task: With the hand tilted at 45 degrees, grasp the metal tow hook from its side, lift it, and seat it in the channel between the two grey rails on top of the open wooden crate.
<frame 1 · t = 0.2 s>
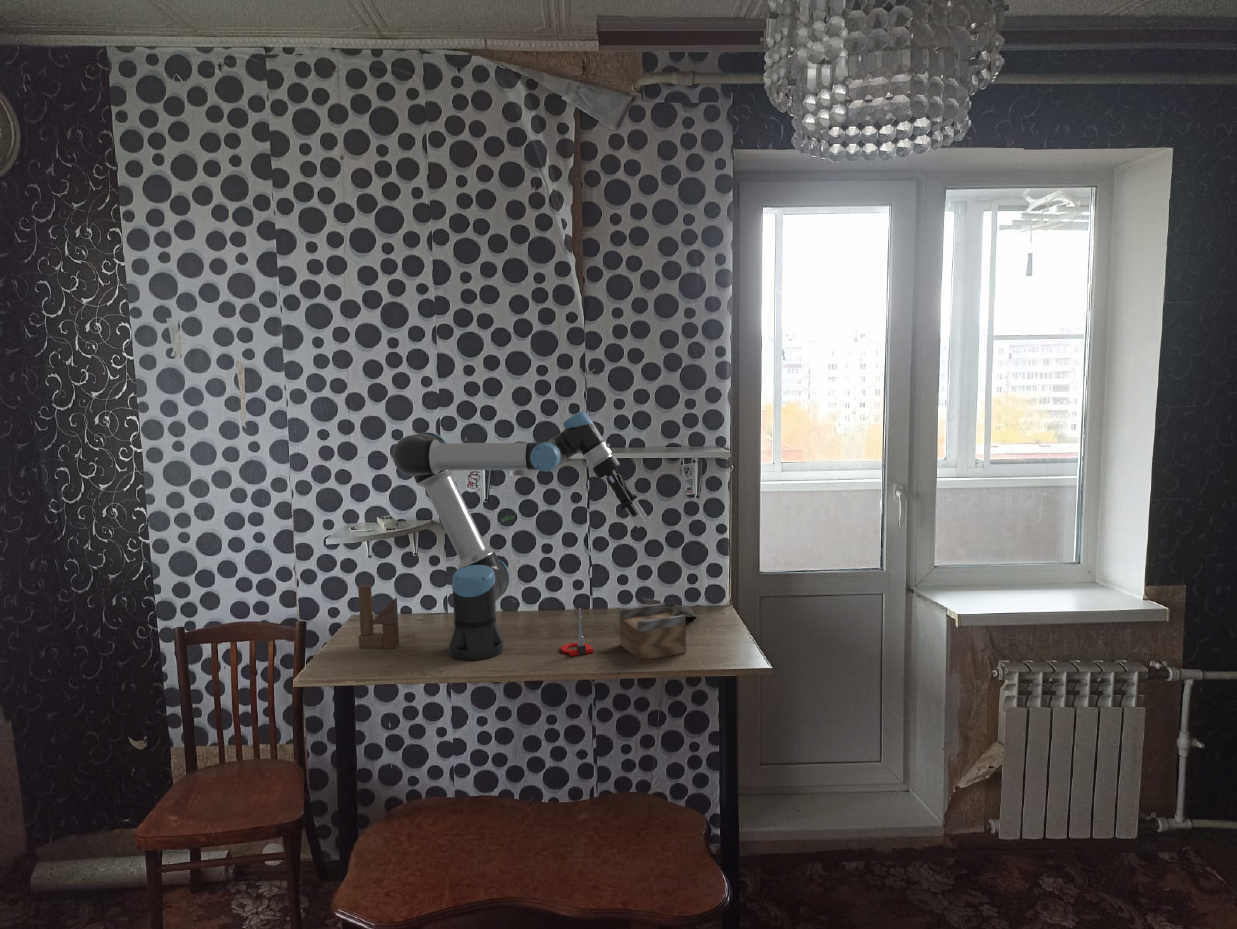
hand: (643, 522, 226), 35 cm above the table, tool tilted 35°, fingers open, 13 cm apart
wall: (669, 622, 247), on the table
tow hook: (576, 651, 222), on the table
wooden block: (379, 647, 228), on the table
open wooden crate: (652, 648, 222), on the table
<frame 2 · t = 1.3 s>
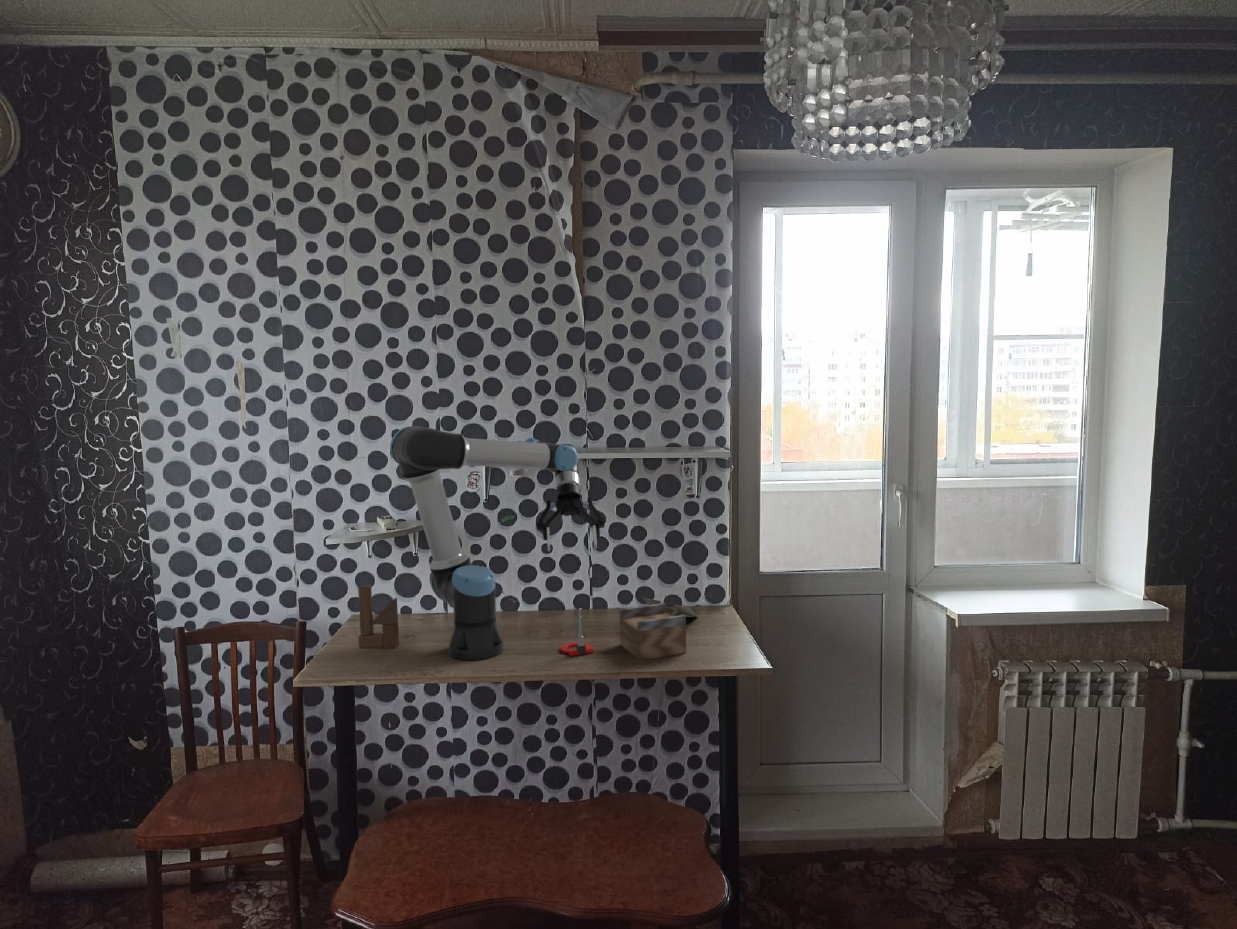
hand: (572, 547, 229), 27 cm above the table, tool tilted 45°, fingers open, 13 cm apart
nothing on the table moved.
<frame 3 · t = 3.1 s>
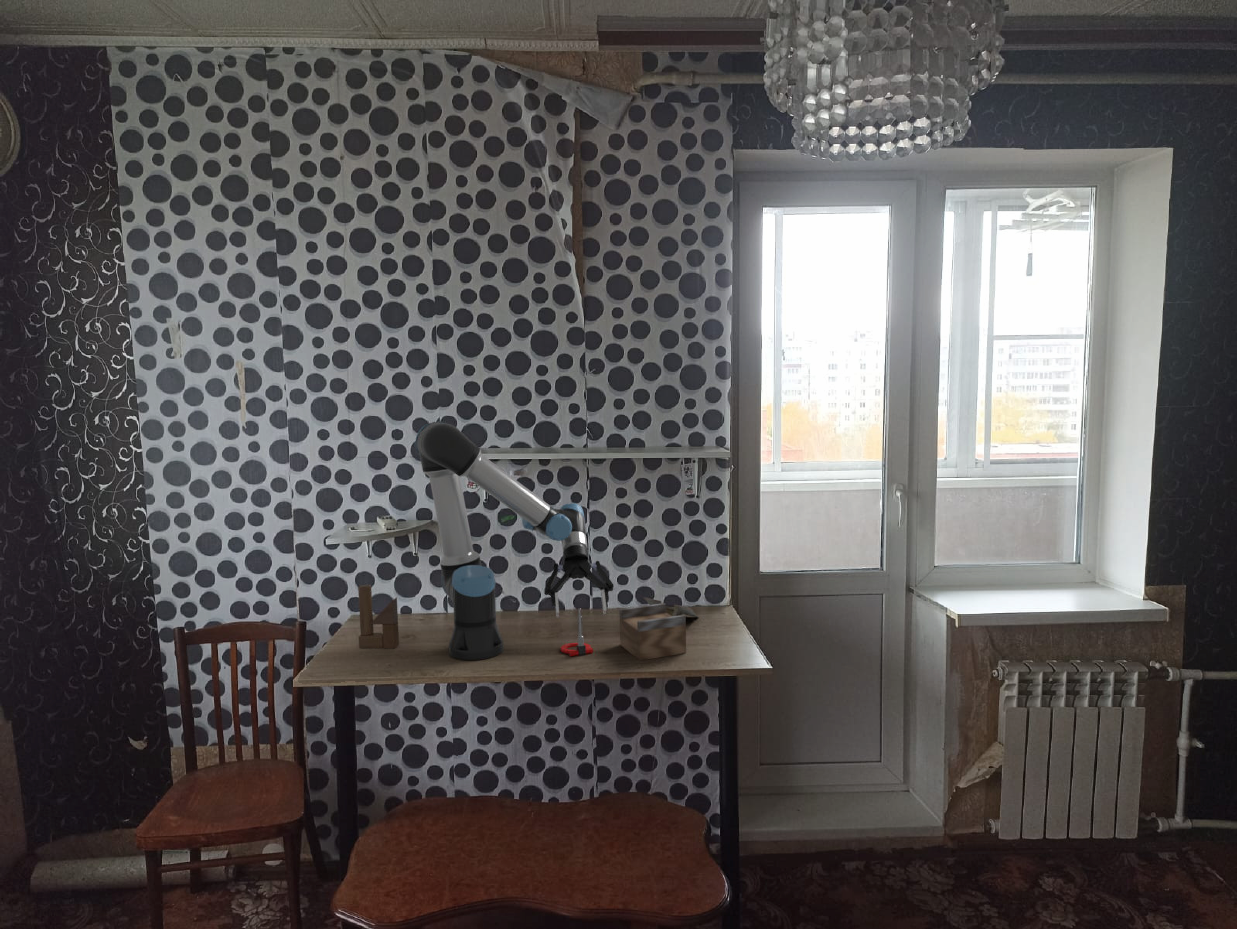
hand: (581, 613, 226), 9 cm above the table, tool tilted 45°, fingers open, 13 cm apart
nothing on the table moved.
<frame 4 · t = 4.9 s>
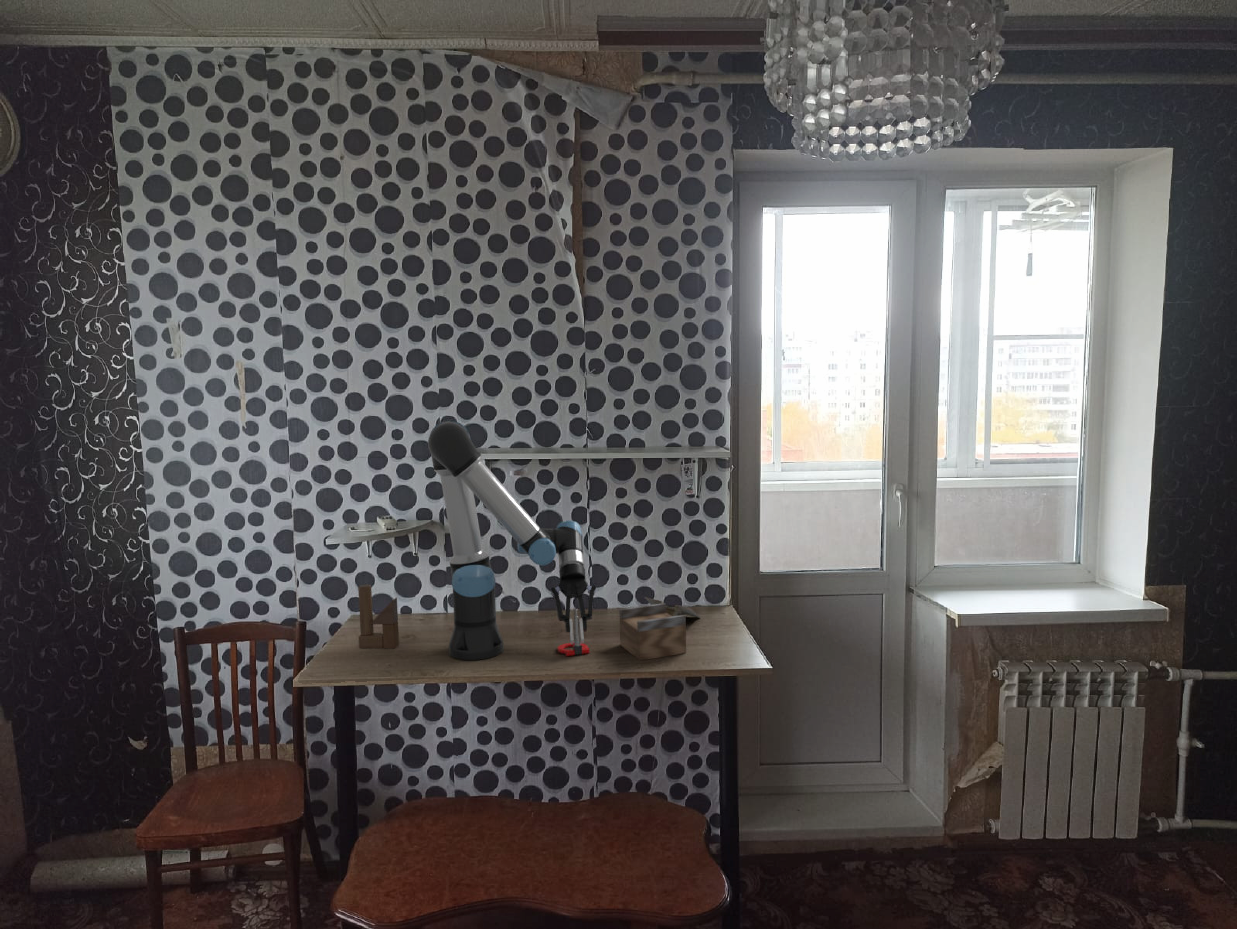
hand: (577, 641, 217), 4 cm above the table, tool tilted 45°, fingers closed on tow hook, 2 cm apart
tow hook: (573, 651, 222), on the table, touching gripper
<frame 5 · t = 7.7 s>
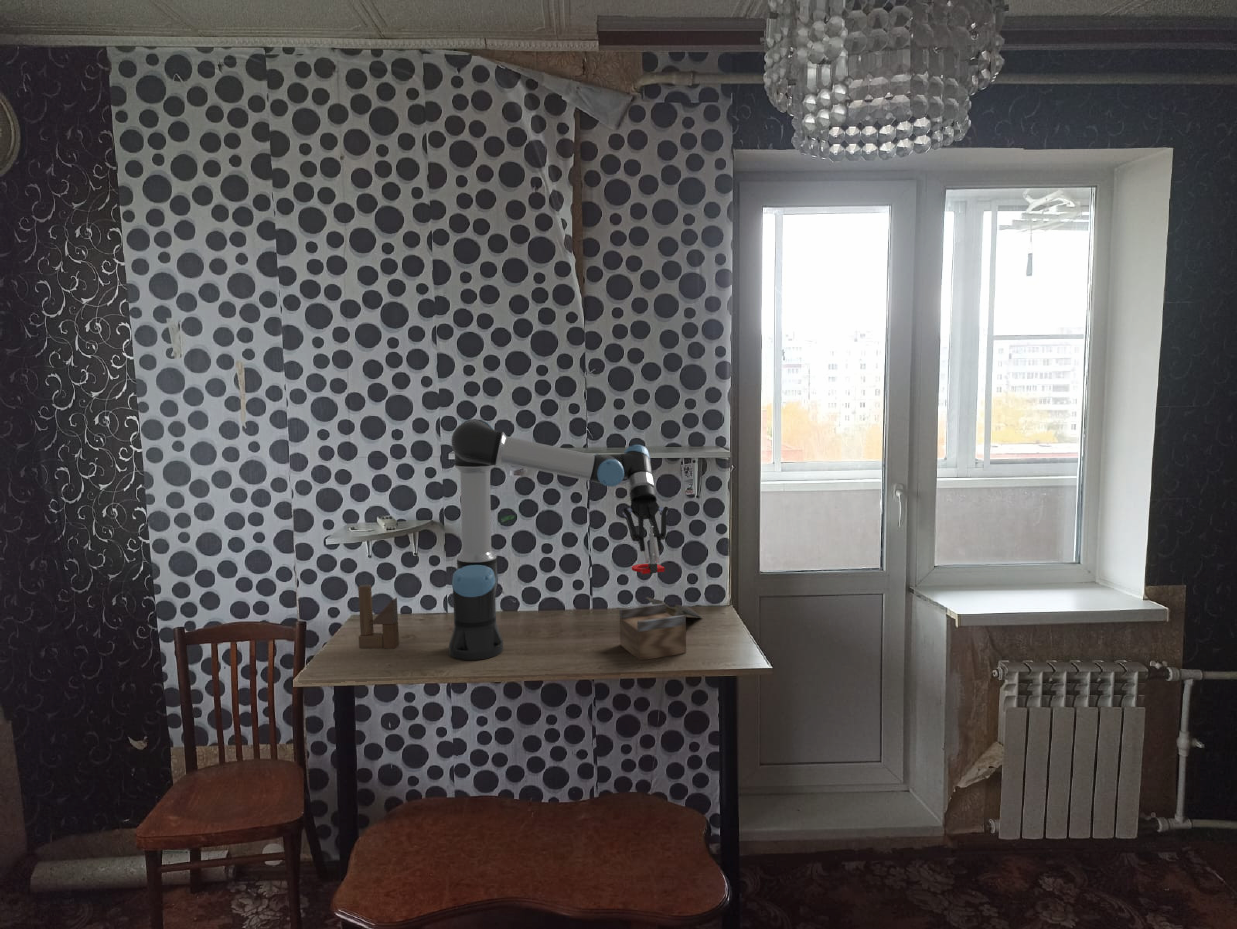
hand: (652, 559, 215), 26 cm above the table, tool tilted 45°, fingers closed on tow hook, 2 cm apart
tow hook: (647, 570, 219), point 22 cm above the table, touching gripper
when the fingers open (13 cm above the table, at t = 10.3 s): tow hook drops 1 cm, resting on open wooden crate.
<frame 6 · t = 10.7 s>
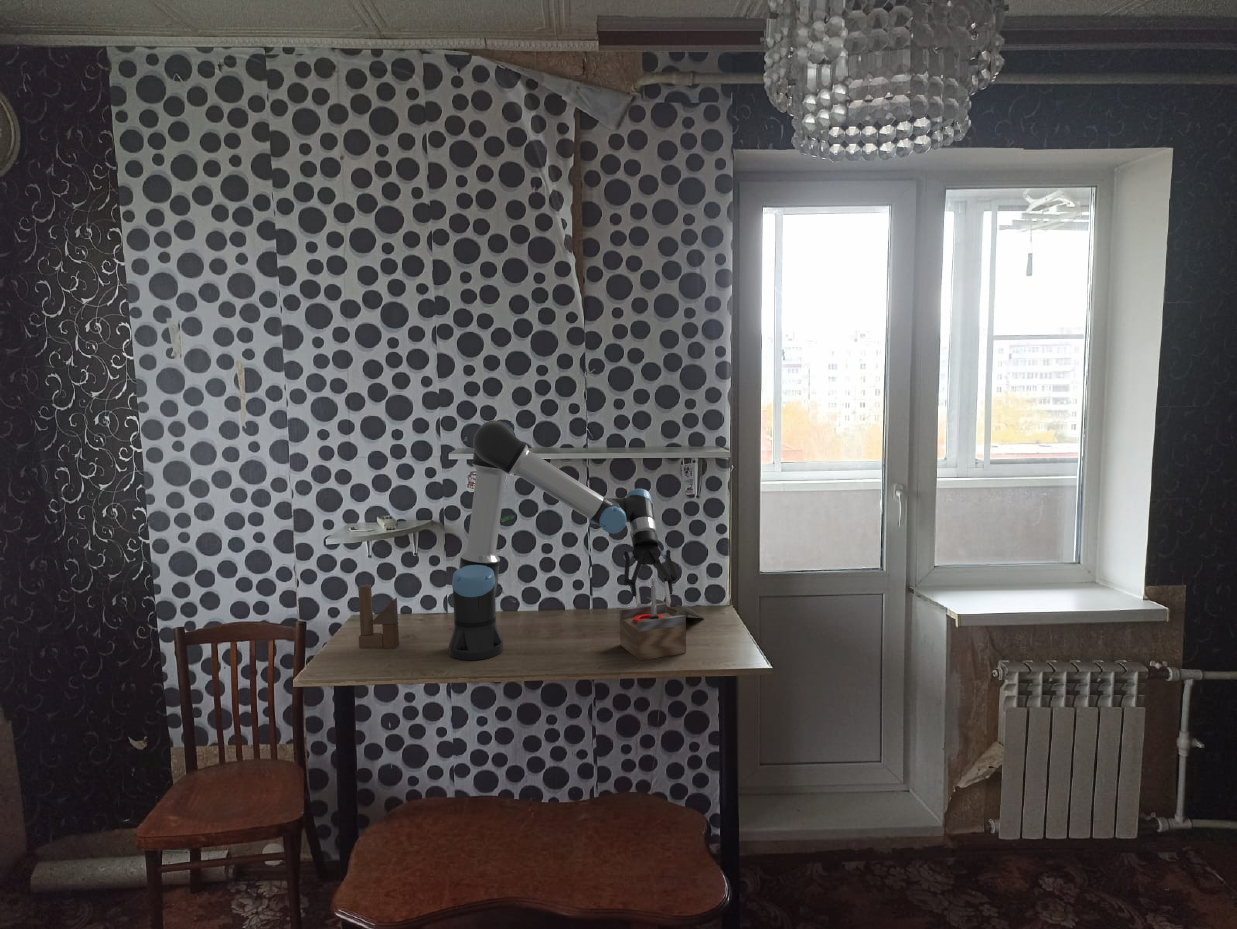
hand: (653, 605, 217), 14 cm above the table, tool tilted 45°, fingers open, 8 cm apart
tow hook: (649, 622, 221), point 8 cm above the table, touching open wooden crate
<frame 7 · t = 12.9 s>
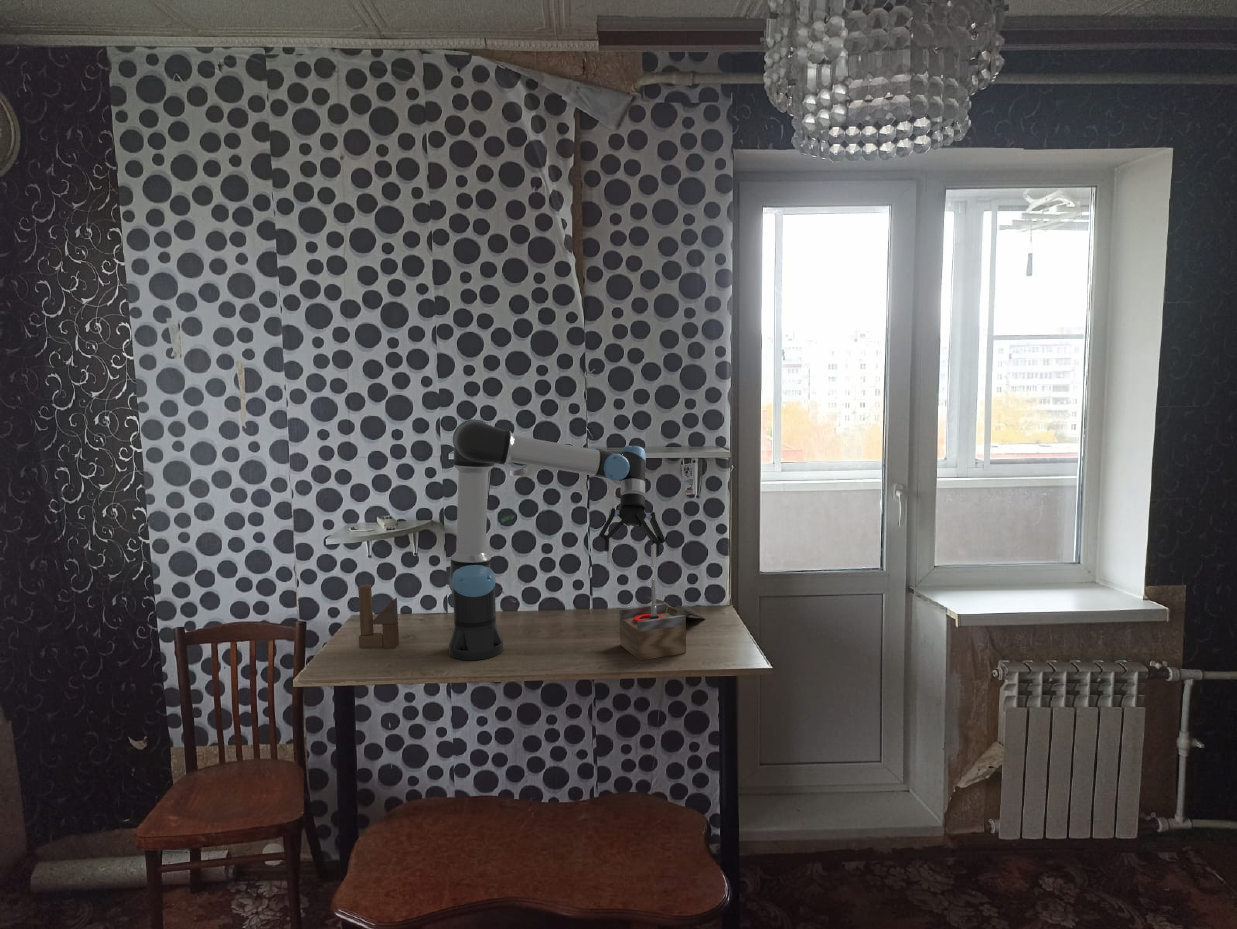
hand: (631, 564, 233), 21 cm above the table, tool tilted 25°, fingers open, 13 cm apart
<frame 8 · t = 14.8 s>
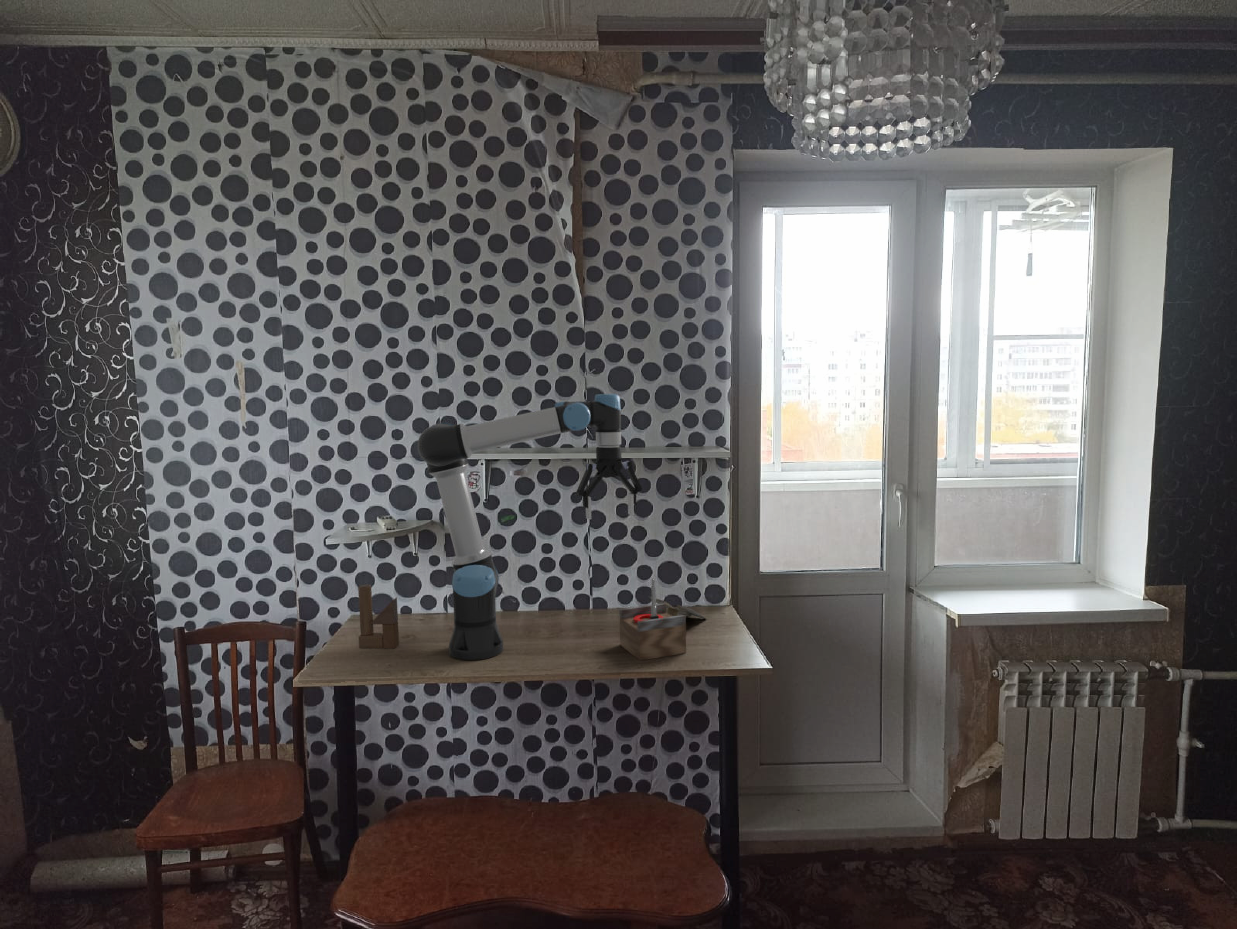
hand: (610, 516, 236), 35 cm above the table, tool pointing down, fingers open, 13 cm apart
at the end: tow hook inside the target area on the open wooden crate (0.9 cm from its centre), point 7.8 cm above the open wooden crate's base; the gripper is holding nothing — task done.
